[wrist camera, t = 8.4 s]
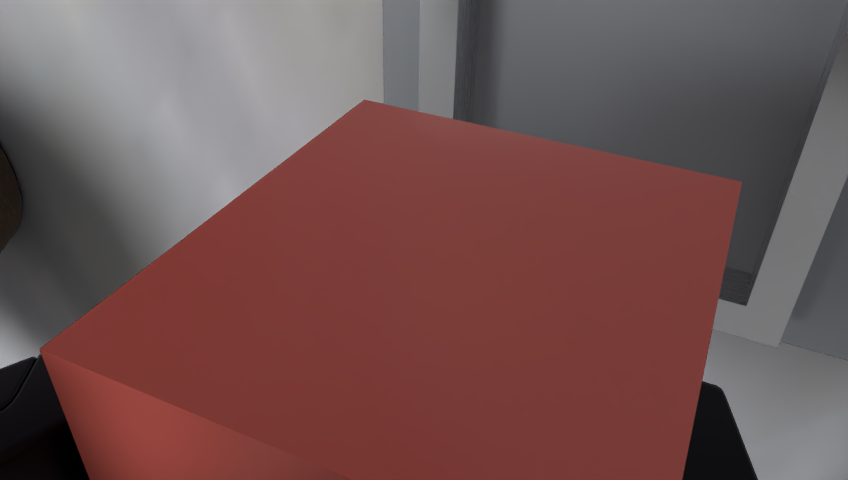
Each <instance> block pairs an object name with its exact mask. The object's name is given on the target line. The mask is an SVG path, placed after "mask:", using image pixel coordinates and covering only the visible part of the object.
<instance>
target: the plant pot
mask: <svg viewBox="0 0 848 480" xmlns="http://www.w3.org/2000/svg"><path fill="white" fill-rule="evenodd" d="M21 218H22V201H21V195H20V191H19V187H18V184H17V181H16V178H15V175H14V173H13V171H12V169H11V166H10V164H9V162H8V160H7V158H6V156H5V154H4V153H3V151H2V149H1V148H0V253H1V251H2V250H3V249H4V247H5V246H6V244H7V243H8V242H9V240H10V239H11V237H12V236H13V234H14V233H15V231H16V230H17V229H18V227H19V224H20V222H21Z"/></svg>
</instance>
